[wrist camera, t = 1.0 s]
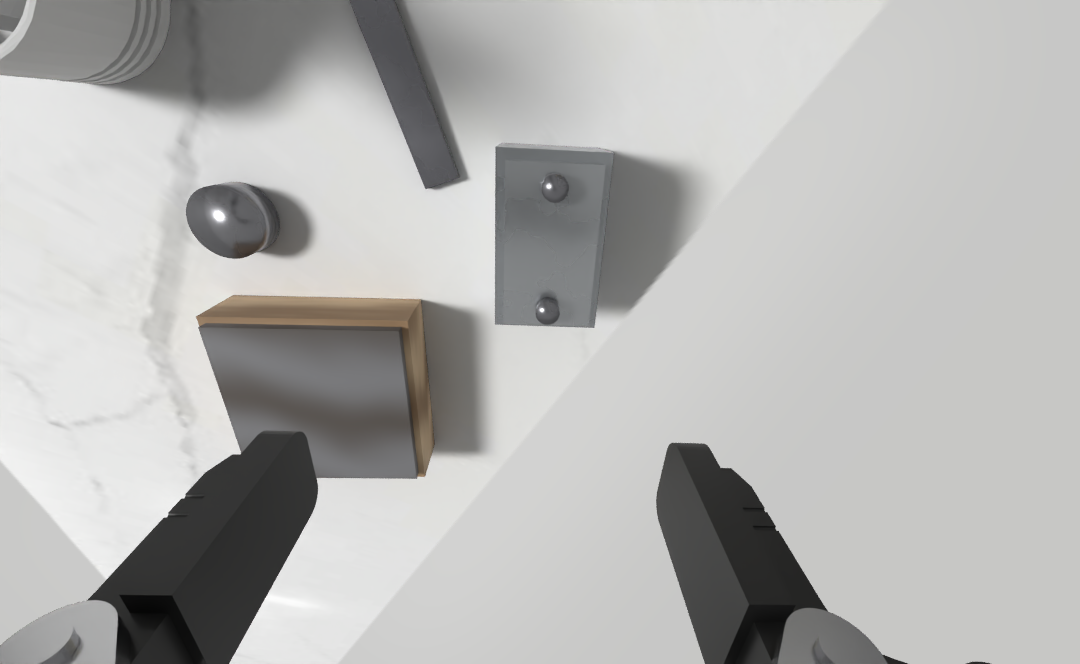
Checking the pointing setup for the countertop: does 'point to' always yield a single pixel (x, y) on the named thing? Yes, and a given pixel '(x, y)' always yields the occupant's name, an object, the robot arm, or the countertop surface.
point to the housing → (549, 233)
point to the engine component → (81, 38)
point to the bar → (406, 89)
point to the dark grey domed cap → (232, 219)
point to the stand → (327, 378)
